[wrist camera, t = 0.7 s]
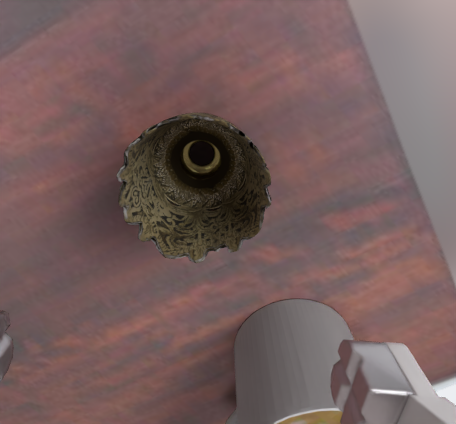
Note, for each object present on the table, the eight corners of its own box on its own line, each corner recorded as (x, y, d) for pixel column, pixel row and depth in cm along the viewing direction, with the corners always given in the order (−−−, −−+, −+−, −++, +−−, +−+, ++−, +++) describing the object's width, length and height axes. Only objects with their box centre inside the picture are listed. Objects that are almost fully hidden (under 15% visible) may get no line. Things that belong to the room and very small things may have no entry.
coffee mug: (313, 277, 29) (356, 381, 20) (370, 356, 33) (429, 476, 24) (178, 355, 32) (161, 477, 23) (243, 420, 36) (251, 549, 26)
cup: (241, 81, 24) (250, 95, 16) (268, 188, 26) (287, 241, 19) (129, 115, 24) (89, 143, 17) (167, 215, 27) (148, 277, 20)
